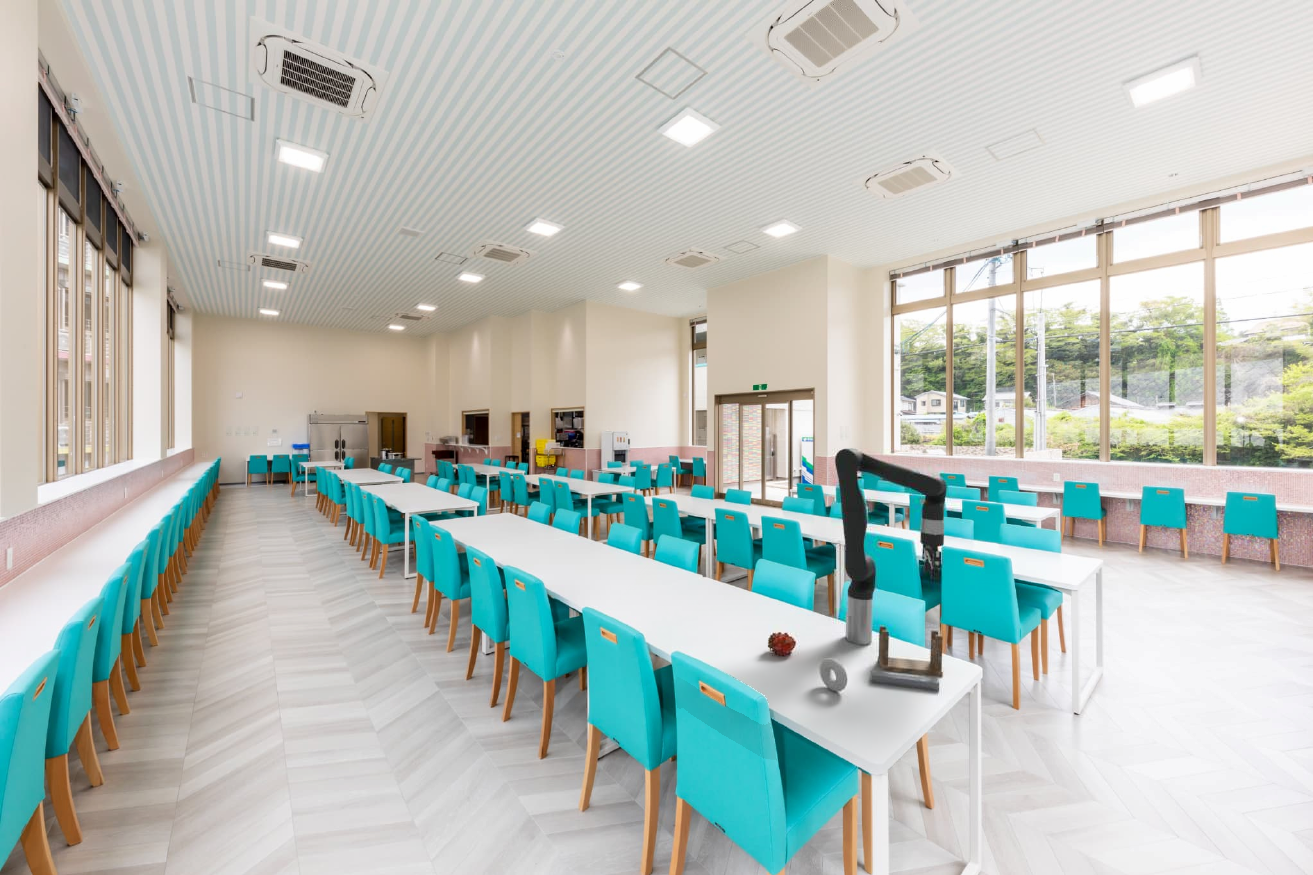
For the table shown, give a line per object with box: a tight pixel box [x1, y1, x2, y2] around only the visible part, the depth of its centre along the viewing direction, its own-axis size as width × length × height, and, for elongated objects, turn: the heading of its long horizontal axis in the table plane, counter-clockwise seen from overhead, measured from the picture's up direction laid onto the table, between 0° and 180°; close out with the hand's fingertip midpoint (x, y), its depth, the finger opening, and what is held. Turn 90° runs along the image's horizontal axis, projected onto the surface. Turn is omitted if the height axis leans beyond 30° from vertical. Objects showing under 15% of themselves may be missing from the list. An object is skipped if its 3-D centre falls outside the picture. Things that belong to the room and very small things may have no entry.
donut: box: [819, 657, 848, 693], centre depth 169 cm, size 10×4×10 cm, turn 30°
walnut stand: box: [877, 625, 944, 677], centre depth 186 cm, size 19×8×13 cm, turn 78°
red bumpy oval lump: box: [767, 631, 797, 657], centre depth 196 cm, size 8×8×12 cm
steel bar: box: [869, 670, 940, 692], centre depth 173 cm, size 20×3×3 cm, turn 77°
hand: (931, 576), depth 193 cm, fingers open, 8 cm apart
